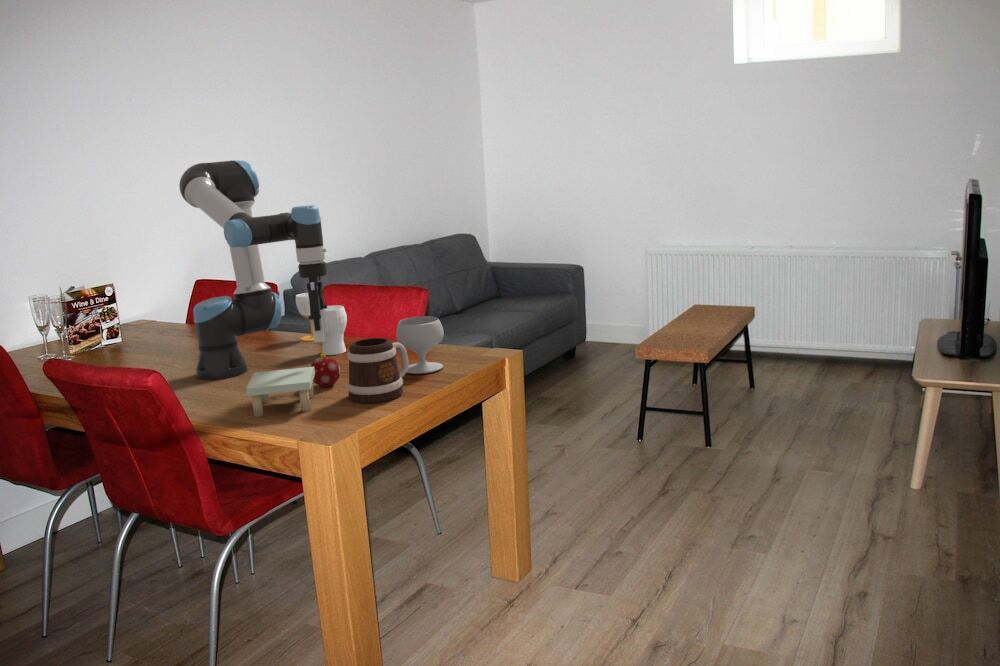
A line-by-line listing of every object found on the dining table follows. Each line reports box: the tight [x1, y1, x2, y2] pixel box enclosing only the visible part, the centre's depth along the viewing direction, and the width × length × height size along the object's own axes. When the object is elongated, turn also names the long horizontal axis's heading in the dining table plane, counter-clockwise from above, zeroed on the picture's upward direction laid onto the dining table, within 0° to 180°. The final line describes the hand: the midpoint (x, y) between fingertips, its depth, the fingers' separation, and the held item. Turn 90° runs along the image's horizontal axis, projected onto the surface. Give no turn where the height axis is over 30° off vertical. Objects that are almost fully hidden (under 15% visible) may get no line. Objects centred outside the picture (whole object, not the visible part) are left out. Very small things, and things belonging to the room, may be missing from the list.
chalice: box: [395, 315, 445, 375], centre depth 251 cm, size 14×14×15 cm
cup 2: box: [295, 292, 314, 342], centre depth 305 cm, size 9×9×16 cm
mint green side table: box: [245, 366, 315, 418], centre depth 225 cm, size 16×16×8 cm
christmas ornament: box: [310, 351, 341, 388], centre depth 242 cm, size 9×9×10 cm
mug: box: [346, 337, 410, 404], centre depth 230 cm, size 20×15×15 cm
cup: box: [322, 304, 348, 356], centre depth 281 cm, size 11×11×15 cm
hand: (321, 336), depth 239 cm, fingers open, 13 cm apart
